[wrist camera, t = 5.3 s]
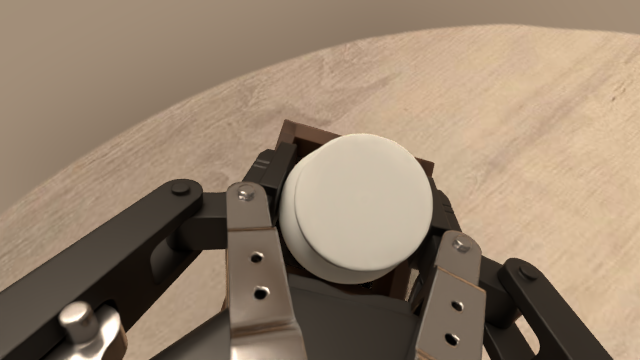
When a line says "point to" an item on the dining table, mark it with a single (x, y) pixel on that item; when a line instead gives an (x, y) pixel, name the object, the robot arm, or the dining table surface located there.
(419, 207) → the pill bottle
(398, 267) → the stand
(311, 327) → the robot arm
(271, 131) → the dining table surface
